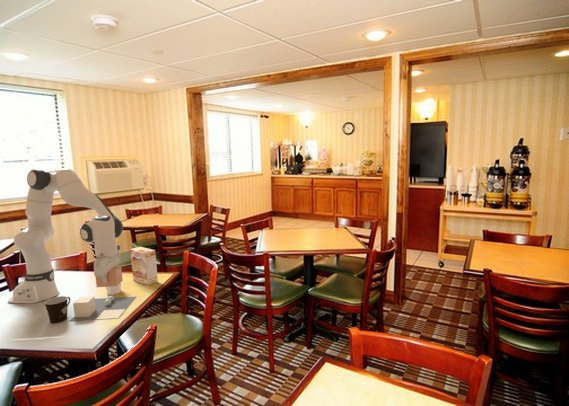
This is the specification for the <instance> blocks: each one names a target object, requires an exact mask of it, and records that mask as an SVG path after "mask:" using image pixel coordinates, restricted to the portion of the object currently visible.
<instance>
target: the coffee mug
mask: <svg viewBox="0 0 569 406" xmlns="http://www.w3.org/2000/svg"><path fill="white" fill-rule="evenodd" d="M70 297H71V296H70ZM70 297H69V296H66V295H65V296H63V295H61V296H54V297H52V298H50V299H46V300H45V301H44V306H45V308H46V312H47V316H48V318H49V319H48V320H49V322H50V324H52V325H53V324H55V325H56V324H60V323H63V322H65V321H67V320H68V307H69V305H70V304H71V298H70Z"/></svg>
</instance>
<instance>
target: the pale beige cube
mask: <svg viewBox="0 0 569 406" xmlns="http://www.w3.org/2000/svg"><path fill="white" fill-rule="evenodd" d="M95 299H96V298H95V296H80V297H79V298H78V299H76V300H75V301H74V302H73V303H72V305H73V315H74V316H75V317H90V316H91V315H92V314H93V313H94V312H95V311H96V305H95Z"/></svg>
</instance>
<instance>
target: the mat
mask: <svg viewBox="0 0 569 406" xmlns="http://www.w3.org/2000/svg"><path fill="white" fill-rule="evenodd" d="M108 298H109V297H104V298H95V305H96V311H95V312H94V313H93V314H92V315H91V316H90V317H75V315H74V316H73V317H72V318H71V319H70V320H69V322H81V321H82V322H83V321H84V322H85V321H95V320H96V321H101V320H118V319H120V318H121V317H122V316H123V314H124V313H125V312H126V311H127V309H128V308H129V307H130V305H131V304H132V303H133V302H134V301H135V300H136V299H137V296H123V297H114V298H115V299H114V301H113V302H111V304H110V305H108V306H107V305H105V303H104V302H105V301H106V300H107V299H108Z"/></svg>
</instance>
